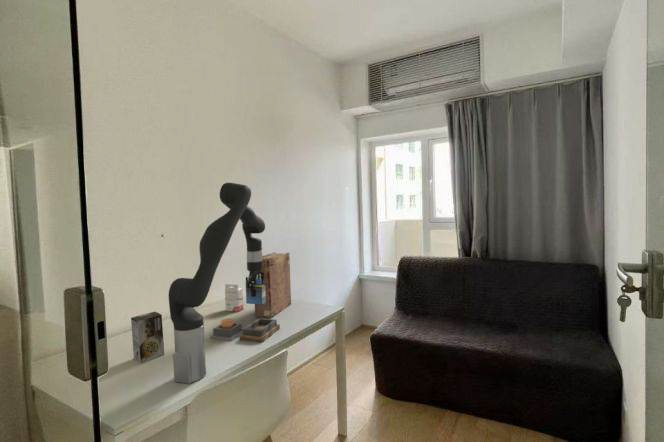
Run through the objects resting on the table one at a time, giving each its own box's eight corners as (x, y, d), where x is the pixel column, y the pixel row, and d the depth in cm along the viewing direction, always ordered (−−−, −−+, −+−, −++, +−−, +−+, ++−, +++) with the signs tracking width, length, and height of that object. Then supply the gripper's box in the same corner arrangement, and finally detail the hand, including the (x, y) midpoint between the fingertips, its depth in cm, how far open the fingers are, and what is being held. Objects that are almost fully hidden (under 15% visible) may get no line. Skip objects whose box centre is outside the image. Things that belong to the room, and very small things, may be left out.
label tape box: (266, 302, 169) (265, 277, 169) (262, 304, 165) (261, 279, 165) (250, 301, 172) (249, 276, 171) (245, 303, 168) (245, 278, 167)
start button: (229, 330, 151) (229, 322, 151) (219, 329, 152) (218, 321, 152) (236, 326, 156) (235, 318, 156) (226, 325, 157) (225, 318, 157)
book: (276, 303, 202) (274, 252, 200) (291, 304, 199) (289, 252, 198) (254, 317, 178) (252, 259, 176) (271, 318, 175) (269, 259, 173)
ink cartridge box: (244, 309, 192) (242, 282, 192) (239, 311, 188) (238, 284, 187) (230, 308, 195) (229, 282, 194) (225, 310, 190) (224, 284, 189)
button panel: (231, 340, 147) (231, 331, 147) (209, 338, 151) (209, 329, 151) (245, 331, 158) (245, 322, 158) (224, 329, 161) (224, 320, 161)
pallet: (262, 342, 145) (262, 331, 144) (239, 339, 148) (239, 329, 148) (279, 328, 160) (279, 319, 160) (258, 326, 163) (258, 317, 163)
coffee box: (157, 350, 139) (155, 311, 138) (164, 354, 135) (162, 313, 134) (132, 358, 132) (130, 317, 131) (140, 363, 128) (137, 320, 127)
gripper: (254, 262, 160) (255, 299, 160) (268, 258, 173) (269, 292, 174) (239, 262, 162) (241, 298, 163) (255, 258, 176) (256, 291, 176)
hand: (255, 295), depth 168 cm, fingers closed on label tape box, 4 cm apart
